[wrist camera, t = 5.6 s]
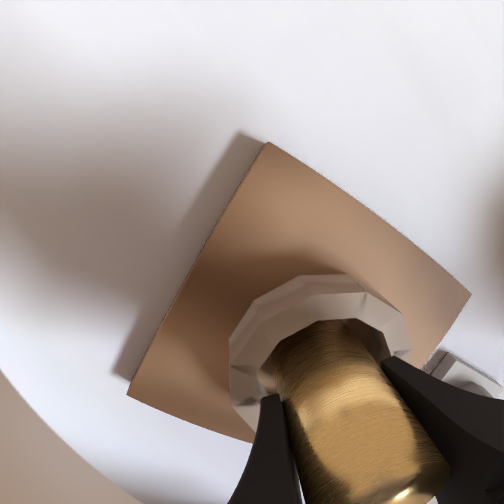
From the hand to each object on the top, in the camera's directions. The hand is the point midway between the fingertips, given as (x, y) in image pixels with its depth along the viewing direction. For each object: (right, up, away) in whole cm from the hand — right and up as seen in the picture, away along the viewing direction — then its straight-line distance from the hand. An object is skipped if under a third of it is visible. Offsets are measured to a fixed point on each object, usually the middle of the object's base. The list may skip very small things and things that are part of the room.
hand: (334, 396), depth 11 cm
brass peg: (0, +1, +3) cm, 3 cm away
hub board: (0, +1, +4) cm, 4 cm away
